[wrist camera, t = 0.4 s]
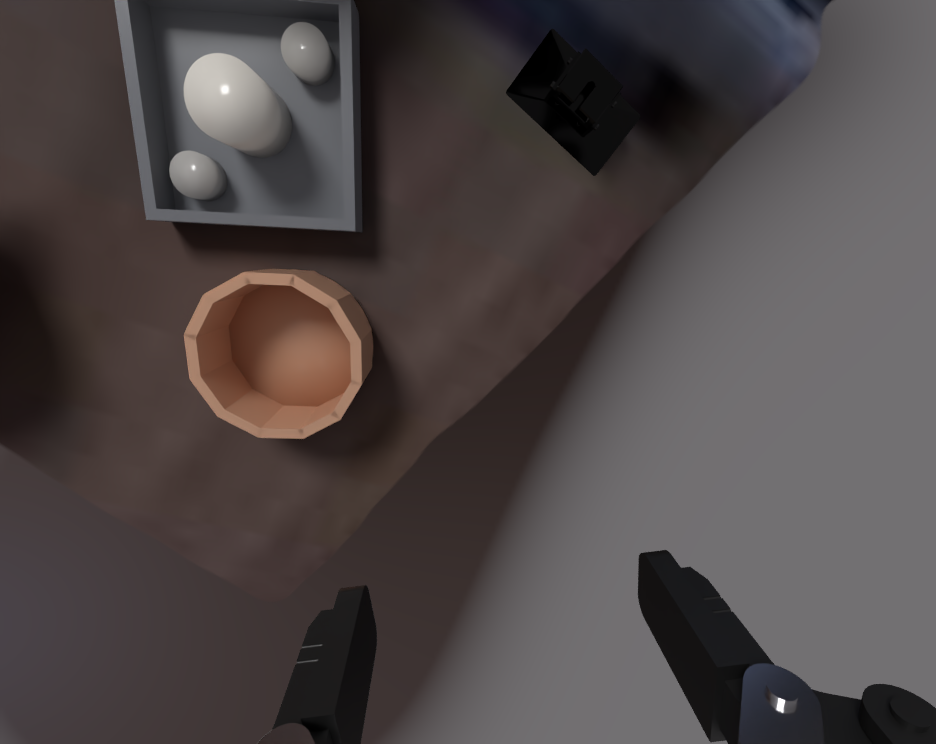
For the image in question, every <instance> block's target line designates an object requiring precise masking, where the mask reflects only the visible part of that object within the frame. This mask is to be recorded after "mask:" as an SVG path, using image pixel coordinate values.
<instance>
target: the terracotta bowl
mask: <svg viewBox="0 0 936 744" xmlns="http://www.w3.org/2000/svg"><path fill="white" fill-rule="evenodd" d="M184 340H185V347H186V355H187V363H188V370H189V378H190V380H191V382H192V383H193V384H194V386H195V387H196V388H197V390H198V391H199V392H200V394H201V395H202V396H203V398H204V399H205V400H206V402H207V403H208V404H209V406H210V407H211V408H212V410H213V411H214V412H215V414H216V415H217V417H219V418H221V419H223V420H225V421H227V422H229V423H231V424H233V425H235V426H237V427H239V428H241V429H243V430H245V431H247V432H249V433H251V434H252V435H254V436H256V437H258V438H292V439H304V438H306V437H308V436H310V435H312V434H314V433H315V432H317V431H319V430H321V429H323V428H325V427H327V426H329V425H331V424H333V423H335V422H337V421H339V420H341V418H342V417H343V415H344V413H345V412H346V410H347V408H348V407H349V405H350V403H351V402H352V400H353V398H354V397H355V395H356V393H357V392H358V390H359V388H360V387H361V385H362V384H363V382H364V380H365V379H366V377H367V375H368V374H369V372H370V370H371V369H372V358H373V336H372V328H371V327H370V324H369V321H368V319H367V317H366V315H365V313H364V311H363V309H362V308H361V306H360V305H359V303H358V302H357V300H356V299H355V298H354V297H353V296H352V294H351V293H350V292H348V291H347V290H346V289H345V288H344V287H342V286H341V285H339V284H338V283H336V282H335V281H333V280H331V279H329V278H328V277H326V276H323V275H320V274H318V273H317V272H315V271H308V270H298V269H264V270H256V271H247V272H243V273H241V274H239V275H238V276H236V277H234V278H232V279H230V280H229V281H227V282H225V283H223V284H221V285H220V286H218V287H216V288H214V289H212V290H211V291H209V292H207V293H205V294H203V296H202V298H201V300H200V302H199V304H198V306H197V308H196V310H195V313H194V315H193V317H192V319H191V321H190V323H189V325H188V327H187V329H186V331H185V333H184Z"/></svg>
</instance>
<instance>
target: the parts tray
mask: <svg viewBox="0 0 936 744" xmlns="http://www.w3.org/2000/svg"><path fill="white" fill-rule="evenodd" d="M114 1H115V7H116V14H117V21H118V28H119V35H120V42H121V49H122V56H123V62H124V69H125V76H126V83H127V90H128V97H129V104H130V111H131V118H132V124H133V131H134V138H135V145H136V152H137V159H138V166H139V173H140V179H141V186H142V193H143V200H144V207H145V214H146V220H155V221H165V222H179V223H197V224H216V225H234V226H252V227H271V228H289V229H307V230H325V231H344V232H362V233H363V229H362V165H361V100H360V35H359V13H358V10H357V7H356V5H355V2H354V0H114ZM297 22H307V23H310V24H312V25H314V26H315V27H317V28H318V29H319V30H320V31H321V32H322V34H323V35H324V37H325V39H326V41H327V42H328V44H329V46H330V48H331V50H332V52H333V55H334V59H335V67H334V72H333V74H332V76H331V78H330V79H329V80H328V81H327V82H325V83H324V84H322V85H318V86H312V85H308V84H305V83H304V82H302V81H301V80H300V79H299V78H298V77H297V76H296V75H295V74H294V73H293V72H292V70H291V69H290V68H289V67H288V66H287V64H286V63H285V61H284V59H283V56H282V53H281V39H282V36H283V34H284V32H285V30H286V29H287V28H288V27H289V26H290V25H292V24H294V23H297ZM212 53H224V54H228V55H232V56H234V57H236V58H238V59H240V60H241V61H243V62H244V63H245V64H247V65H248V66H249V67H250V68H251V69H252V70H253V71H254V72H255V73H256V74H257V75H258V76H259V77H261V78H262V79H263V80H264V81H265V82H266V83H267V84H268V85H269V86H270V87H271V88H272V89H273V90H274V91H276V92H277V93H278V94H279V95H280V96H281V98H282V99H283V100H284V102H285V103H286V105H287V107H288V109H289V112H290V115H291V120H292V131H291V136H290V139H289V141H288V143H287V145H286V146H285V148H284V149H283V150H282V151H281V152H279V153H278V154H276V155H274V156H271V157H267V158H257V157H253V156H250V155H247V154H245V153H243V152H241V151H239V150H237V149H235V148H233V147H231V146H229V145H226V144H224V143H222V142H220V141H218V140H216V139H214V138H212V137H210V136H208V135H207V134H206V133H204V132H203V131H202V130H201V129H200V128H199V127H198V126H197V125H196V124H195V122H194V121H193V119H192V118H191V116H190V114H189V112H188V110H187V107H186V104H185V100H184V81H185V77H186V74H187V72H188V70H189V68H190V67H191V66H192V64H193V63H194V62H195V61H196V60H198V59H199V58H201V57H203V56H205V55H208V54H212ZM182 151H195V152H198V153H200V154H203V155H206V156H208V157H211V158H213V159H214V160H216V161H217V162H218V163H219V164H220V165H221V166H222V167H223V169H224V171H225V173H226V176H227V188H226V191H225V193H224V194H223V195H222V196H221V197H220V198H219V199H216V200H213V201H205V200H200V199H195V198H190V197H187V196H185V195H183V194H182V193H181V192H179V191H178V190H177V189H176V187H175V186H174V184H173V183H172V180H171V178H170V172H169V168H170V163H171V161H172V159H173V158H174V156H175V155H176V154H178V153H180V152H182Z"/></svg>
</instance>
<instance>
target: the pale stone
mask: <svg viewBox="0 0 936 744" xmlns="http://www.w3.org/2000/svg"><path fill="white" fill-rule="evenodd" d="M184 100H185V104H186V107H187V110H188V112H189V114H190V116H191V118H192V119H193V121H194V122H195V124H196V125H197V126H198V127H199V128H200V129H201V130H202V131H203V132H204V133H206V134H207V135H208V136H210V137H212V138H214V139H216V140H218V141H220V142H222V143H224V144H226V145H229V146H231V147H233V148H235V149H237V150H239V151H241V152H243V153H245V154H247V155H250V156H253V157H257V158H267V157H271V156H274V155H276V154H278V153H279V152H281V151H282V150H283V149H284V148H285V146H286V145H287V143H288V141H289V139H290V136H291V131H292V120H291V115H290V112H289V109H288V107H287V105H286V103H285V102H284V100H283V99H282V98H281V96H280V95H279V94H278V93H277V92H276V91H274V90H273V89H272V88H271V87H270V86H269V85H268V84H267V83H266V82H265V81H264V80H263V79H262V78H261V77H259V76H258V75H257V74H256V73H255V72H254V71H253V70H252V69H251V68H250V67H249V66H248V65H247V64H245V63H244V62H243V61H241V60H240V59H238V58H236V57H234V56H232V55H228V54H224V53H212V54H208V55H205V56H203V57H201V58H199V59H198V60H196V61H195V62H194V63H193V64H192V66H191V67H190V68H189V70H188V72H187V74H186V77H185V81H184Z"/></svg>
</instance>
